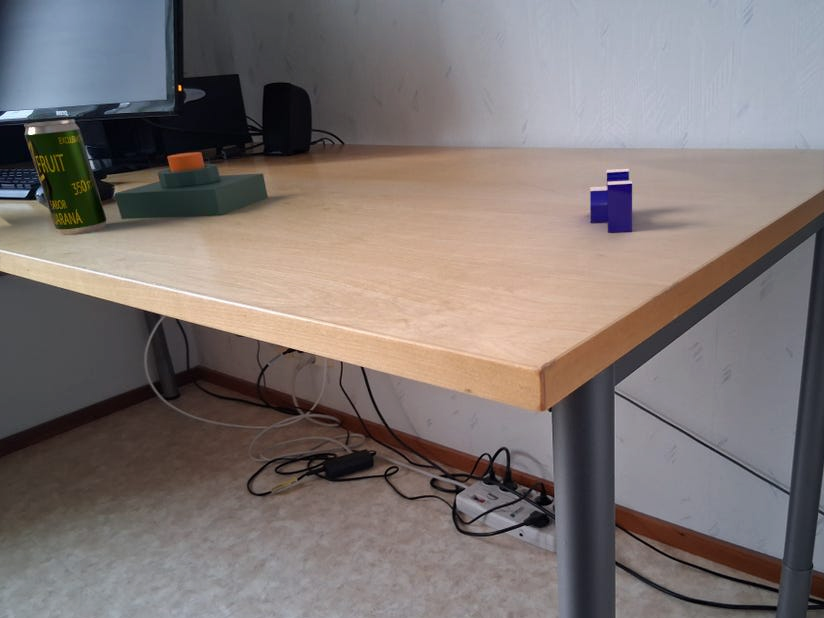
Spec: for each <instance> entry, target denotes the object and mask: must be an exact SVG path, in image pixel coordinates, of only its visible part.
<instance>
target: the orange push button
mask: <svg viewBox="0 0 824 618" xmlns="http://www.w3.org/2000/svg"><path fill="white" fill-rule="evenodd" d="M202 153H203V152H200V151H195V152H184V153H176V154H171V155H168V156H166V157H167V162H168V165H169V168H170V170H171V171H185V170H193V169H199V168H203V167H205V166H204V164H205V162H204V159H203V154H202Z"/></svg>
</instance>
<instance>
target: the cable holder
mask: <svg viewBox="0 0 824 618" xmlns="http://www.w3.org/2000/svg"><path fill="white" fill-rule="evenodd" d="M605 173H606V185H605V186H603V185H602V186H590V188H589V189H590V191H589V193H590V194H589V196H590V197H589V201H590V202H589V203H590V204H589V205H590V207H589V210H590V211H589V213H590V216H589V217H590V224H595V223H607V233H626V232H630V233H631V232H633V182H632V180H630V170H629V168H616V169H606V172H605Z"/></svg>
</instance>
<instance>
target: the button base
mask: <svg viewBox="0 0 824 618" xmlns="http://www.w3.org/2000/svg"><path fill="white" fill-rule="evenodd" d="M204 166H205V167H203V168H199V169H193V170H185V171H171V170H170V167H169V168H166V169H165V168H164V169H161V170H159V171H158V172H157V176H158V180H159V181H155V182H151V183H147V184H144V185H140V186H136V187H133V188H129V189H125V190H121V191H118V192H117V191H116V192H114V197H115V201H116V205H117V208H118V212H119V215H120V218H121V220H132V219H133V220H134V219H160V218H161V219H163V218H165V219H166V218H167V219H168V218H188V217H189V218H190V217H191V218H192V217H193V218H195V217H220V216H224V215H226V214H229V213H232V212H235V211H237V210H240V209H242V208H244V207H247V206H249V205H252V204H255V203H258V202H260V201H263V200H265V199H268V198H269V197H268V191H267V186H266V181H265V177H264V173H262V172H261V173H244V174H224V175H223V174H221V175H220V171H219V166H218V164H216V163H204Z"/></svg>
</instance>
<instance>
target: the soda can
mask: <svg viewBox="0 0 824 618" xmlns="http://www.w3.org/2000/svg"><path fill="white" fill-rule="evenodd" d="M23 126H24V128H25V131H24V138H25V140H26V143H27V146H28V150H29V153H30V155H31V158H32V162H33V164H34V168H35V170H36V174H37V178H38V180H39V183H40V186H41V189H42V192H43V195H44V198H45V201H46V204H47V207H48V210H49V214H50V216H51V219H52V223H53V225H54V229H55V230H56V231H57V232H58V233H59V234H60V235H62V236H71V235H80V234H81V235H82V234H88V233H92V232H97V231H99V230H103V229H105V228H106V227H107V222H108V218H107V215H106V212H105V209H104V205H103V202H102V199H101V195H100V192H99V189H98V185H97V181H96V179H95V175H94V172H93V168H92V165H91V161H90V158H89V155H88V152H87V149H86V145H85V141H84V138H83V135H82V131H81V128H80V127H79V125H77V123H76V119H74V118H73V119H60V120H49V121H48V120H47V121H39V122H31V123H25V124H23Z"/></svg>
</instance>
